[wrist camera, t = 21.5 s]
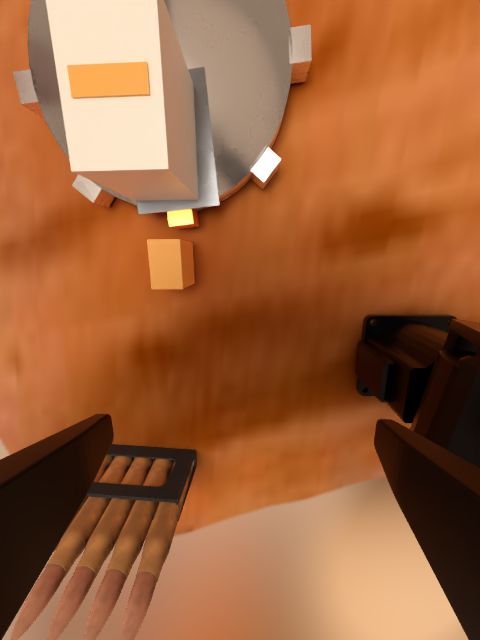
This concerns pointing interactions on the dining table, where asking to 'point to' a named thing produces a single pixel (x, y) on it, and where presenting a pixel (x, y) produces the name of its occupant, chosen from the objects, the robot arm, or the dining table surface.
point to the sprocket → (201, 94)
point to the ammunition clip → (103, 531)
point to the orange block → (171, 263)
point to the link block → (125, 97)
